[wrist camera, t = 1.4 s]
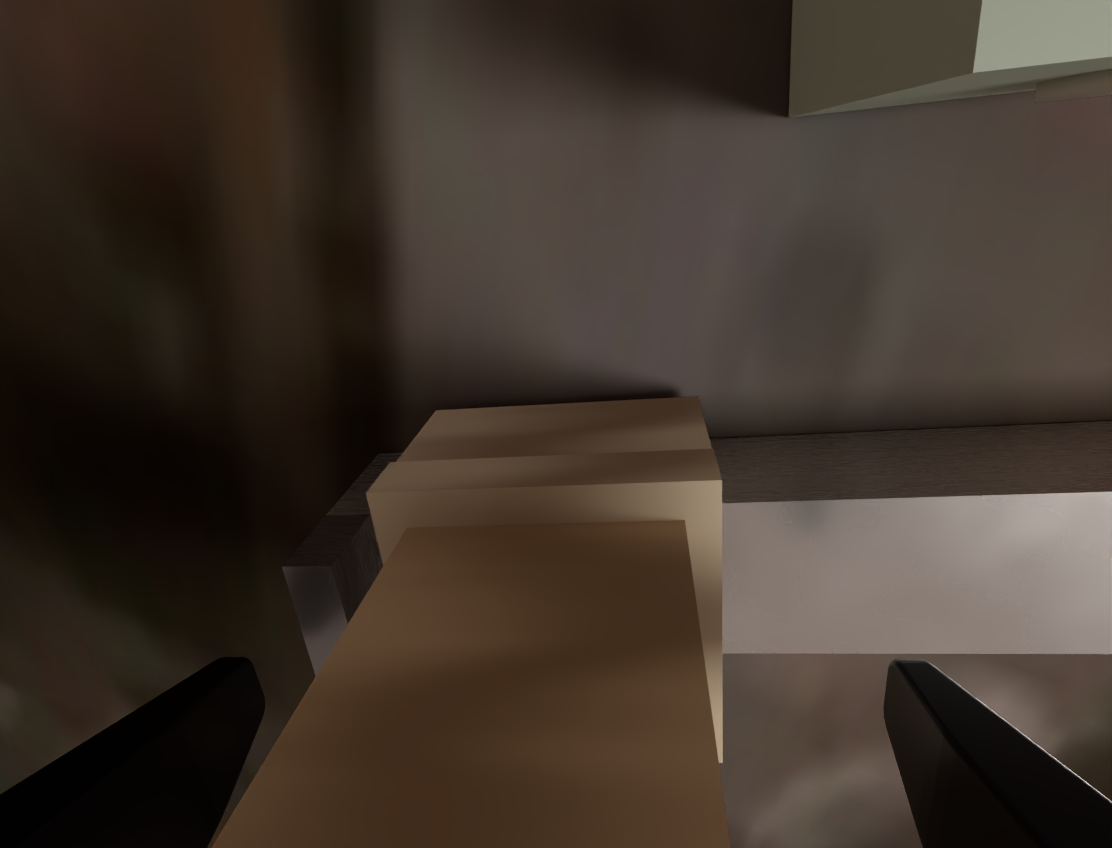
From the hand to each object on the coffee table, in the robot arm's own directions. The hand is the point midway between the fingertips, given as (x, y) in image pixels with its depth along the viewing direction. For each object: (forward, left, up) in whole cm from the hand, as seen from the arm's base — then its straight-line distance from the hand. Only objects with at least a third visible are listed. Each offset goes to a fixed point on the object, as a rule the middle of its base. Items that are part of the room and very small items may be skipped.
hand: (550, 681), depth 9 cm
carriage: (0, 0, -5) cm, 5 cm away
